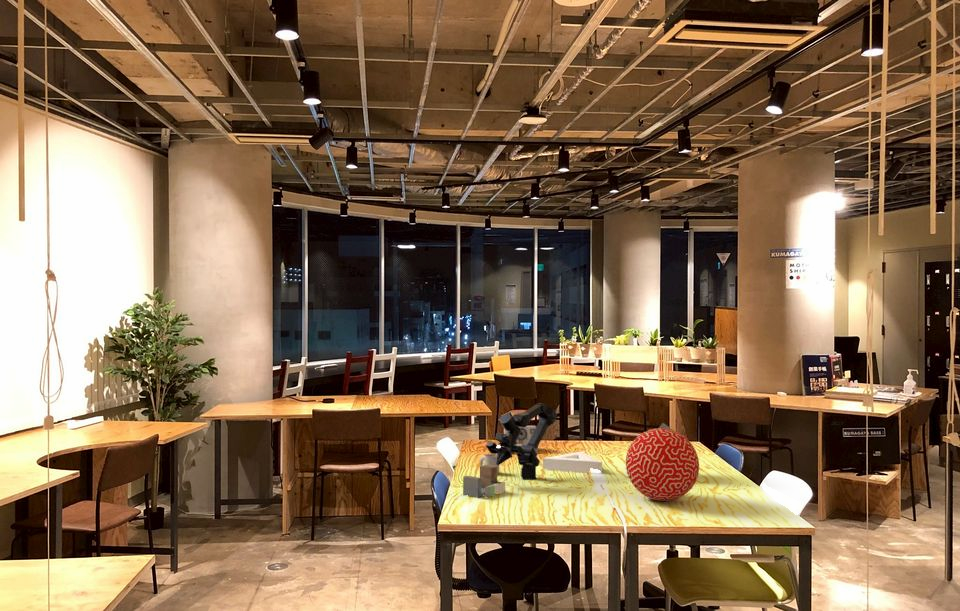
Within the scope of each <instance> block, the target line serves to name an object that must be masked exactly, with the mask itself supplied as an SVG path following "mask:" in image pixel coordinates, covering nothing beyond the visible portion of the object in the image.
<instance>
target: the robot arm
mask: <svg viewBox="0 0 960 611" xmlns="http://www.w3.org/2000/svg"><path fill="white" fill-rule="evenodd" d="M537 416H538V421H539V422H538V423H537V425H536V429H535V431H534V432H533V434H532V436H531V438H530V440H529V442H528V444H527V445H522V446H518V445H517V442H516V441H517V439H518V437H519V435H523V433H522V430H521V429H520V428H519V427H526V426H529V424H530V422H531V421H532V420H533V419H534V418H535V417H537ZM557 418H558V413H557V411H556V409H553V408H552V407H549V406H547V405H546V404H545V403H539V402H538V403H535V404H534V405H533V406H531V407H530V408H528V409H526V410H525V411H523V412H517V413H514V414H512V413H511V412H506V413H505V414H503V415H501V416H500V418H499V423H500V424H501V426H502V427H503V430H504V429H505V430H506V431H507V433H506V434H504V433H501V432H496V434H495V438H494V441H497V443H498V444H497V443H496V442H493V441H487V443H486V444H485V447H486V449H487V450H488V451H489V454H497V462H496V464H497V465H499V466H500V465H501V464H503V463H504V462H506V461H507V460H509V459H510V458H511V459H512V458H513V455H514V454H513V453H517V454H516V456H517V460H518V464H519V466H521V469H520V471H521V472H520V477H521V478H522V480H537V467H538V466H540V460H539V458H538V454H537V450H536V449H537V447H538V448H539V445H540V444H541V441H542V439H543V437H544V435H545V434H546V431H547V429H548V427H550V426H551V425H553V424H554V423H555V421H556V420H557Z"/></svg>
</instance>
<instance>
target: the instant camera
mask: <svg viewBox="0 0 960 611" xmlns="http://www.w3.org/2000/svg"><path fill="white" fill-rule="evenodd" d="M536 427H537V425H527V426H526V427H519V428H520V429H521V430H522V433H523V435H519V437H518V439H517V441H516V442H517V445H518V446H522V445H527V444H528V442H529V440H530V438H531V436H532V434H533V432H534V431H535V429H536ZM506 433H507V431H506V430H505V429H504V428H503V434H506ZM536 450H537V452H538V453H539V446H538V447H537V449H536Z"/></svg>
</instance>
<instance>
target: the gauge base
mask: <svg viewBox="0 0 960 611" xmlns="http://www.w3.org/2000/svg"><path fill="white" fill-rule="evenodd" d="M500 482H501V483H497V484H494V485H490V486H487V487H485V488H484V487H481V496H482V497H484V498H485V497H488V498H490V497H489V496H491V497H493V496H492V495H494V496H496V495H495V494H497V493H500V494H502V493H501V492H503V493H505V492H506V481H500ZM504 491H505V492H504ZM483 495H485V496H483ZM497 495H498V494H497Z"/></svg>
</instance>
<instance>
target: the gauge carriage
mask: <svg viewBox="0 0 960 611" xmlns="http://www.w3.org/2000/svg"><path fill="white" fill-rule="evenodd" d="M482 465H483V466H480V465H479V478H481V487H484V488H485V487H487V486H490V485H494V484H497V483H501V482H502V481H498V474H497V466H492V465H485V464H482Z"/></svg>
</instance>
